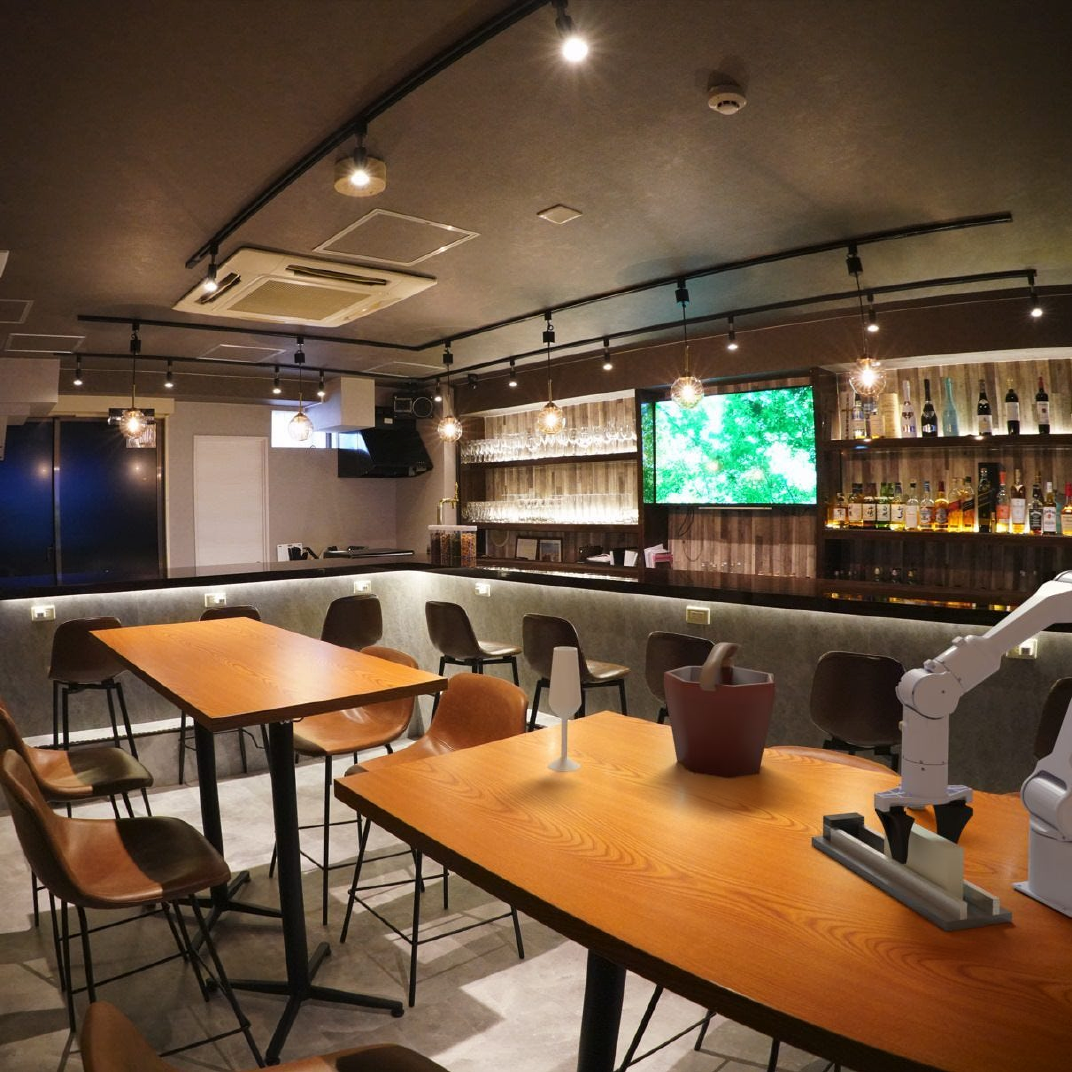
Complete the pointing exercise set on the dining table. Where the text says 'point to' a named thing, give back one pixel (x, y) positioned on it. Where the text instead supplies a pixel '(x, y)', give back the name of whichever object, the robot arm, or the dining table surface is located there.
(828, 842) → the rail
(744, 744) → the bucket
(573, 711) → the champagne flute
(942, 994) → the dining table surface
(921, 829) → the door panel
